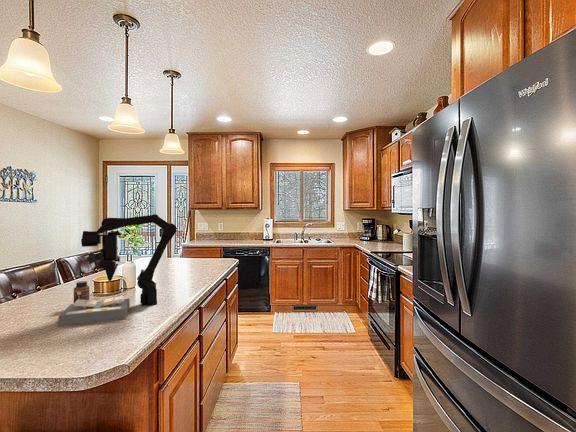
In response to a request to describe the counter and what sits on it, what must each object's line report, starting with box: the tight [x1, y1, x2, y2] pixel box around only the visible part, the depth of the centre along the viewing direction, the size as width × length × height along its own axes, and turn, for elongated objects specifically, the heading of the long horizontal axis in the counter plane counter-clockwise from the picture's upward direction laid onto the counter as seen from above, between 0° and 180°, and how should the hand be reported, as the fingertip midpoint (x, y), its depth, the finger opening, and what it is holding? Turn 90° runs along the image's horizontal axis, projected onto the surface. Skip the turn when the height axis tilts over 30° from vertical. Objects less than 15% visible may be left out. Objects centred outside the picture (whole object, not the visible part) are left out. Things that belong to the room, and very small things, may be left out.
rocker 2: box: [103, 295, 125, 305], centre depth 127 cm, size 7×5×1 cm
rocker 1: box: [73, 299, 98, 307], centre depth 124 cm, size 7×5×1 cm
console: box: [58, 298, 131, 327], centre depth 125 cm, size 22×16×5 cm
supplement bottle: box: [73, 280, 91, 304], centre depth 137 cm, size 6×6×11 cm
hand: (109, 280), depth 136 cm, fingers closed
